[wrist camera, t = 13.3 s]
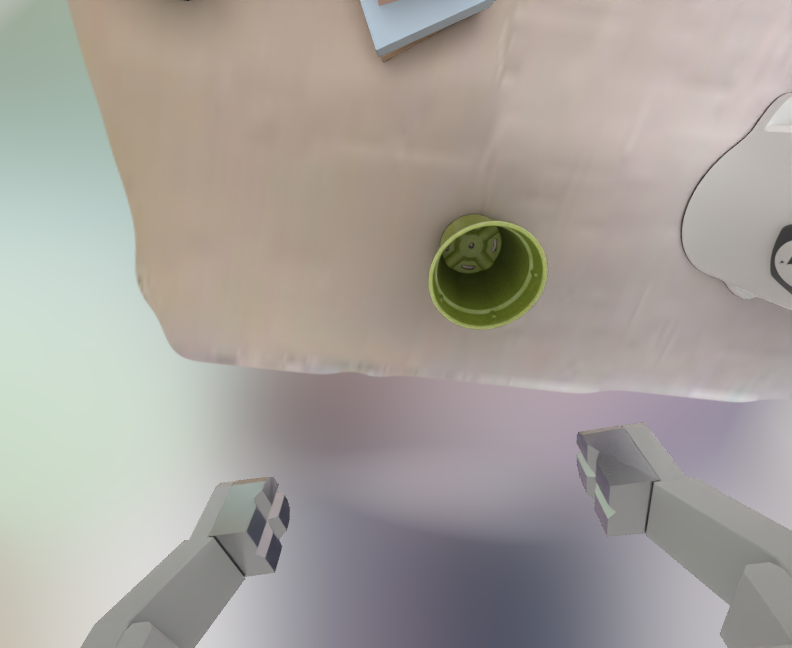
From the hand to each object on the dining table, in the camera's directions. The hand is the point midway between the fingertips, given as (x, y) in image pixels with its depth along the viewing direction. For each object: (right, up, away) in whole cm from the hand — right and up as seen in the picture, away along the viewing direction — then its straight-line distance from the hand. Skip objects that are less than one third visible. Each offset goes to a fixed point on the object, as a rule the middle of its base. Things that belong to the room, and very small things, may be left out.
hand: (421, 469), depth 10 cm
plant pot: (+7, +12, +28) cm, 31 cm away
